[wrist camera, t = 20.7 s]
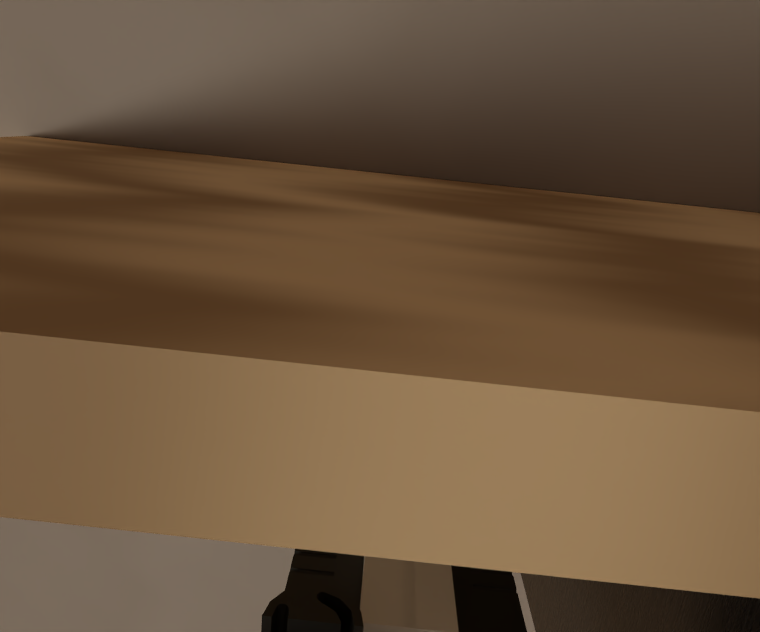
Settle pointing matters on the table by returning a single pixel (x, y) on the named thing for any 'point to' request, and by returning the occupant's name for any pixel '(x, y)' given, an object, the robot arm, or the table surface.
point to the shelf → (380, 365)
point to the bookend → (633, 608)
